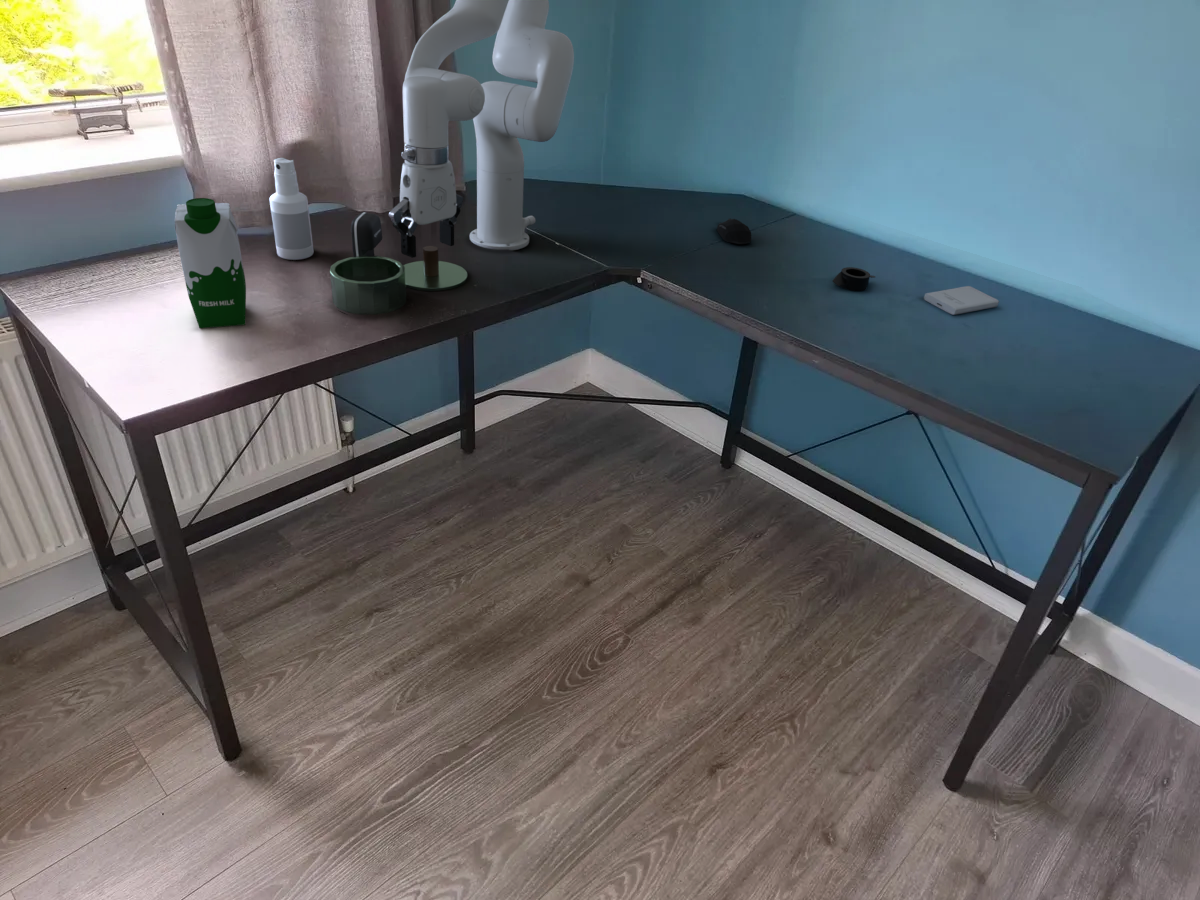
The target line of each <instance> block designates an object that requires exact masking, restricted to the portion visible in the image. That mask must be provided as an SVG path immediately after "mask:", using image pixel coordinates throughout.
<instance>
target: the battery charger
mask: <svg viewBox="0 0 1200 900" xmlns="http://www.w3.org/2000/svg"><path fill="white" fill-rule="evenodd" d="M350 225H351V226H350V232H351V244H352V254H353V255H352V257H357V256H376V255H375V248H376V247H377V246H378V245H379V244H380V243H381V242H382V241H383V230H382V229H383V228H382V222H381V218H380V216H379V215H378V214H376V213H369V212H366V211H365V212H360V213H359V214H357V215H356V216H355V217H354V218H353V220H352V221H351V224H350Z"/></svg>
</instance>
